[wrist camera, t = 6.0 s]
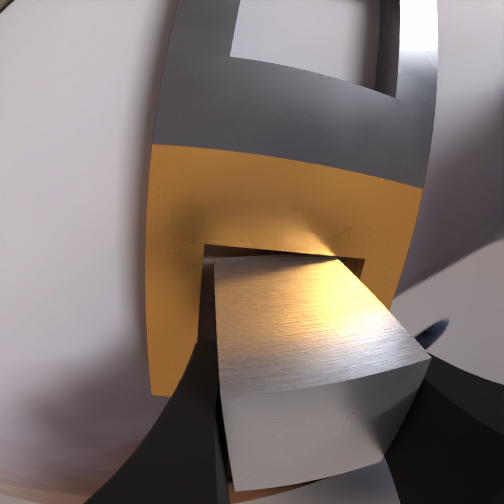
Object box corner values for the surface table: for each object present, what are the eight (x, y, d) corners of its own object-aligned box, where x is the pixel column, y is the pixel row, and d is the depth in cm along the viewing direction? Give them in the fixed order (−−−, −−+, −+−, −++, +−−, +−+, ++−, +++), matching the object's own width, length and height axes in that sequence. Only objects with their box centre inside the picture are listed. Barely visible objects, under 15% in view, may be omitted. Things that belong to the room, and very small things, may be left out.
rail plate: (415, -12, 8) (433, -22, 6) (342, 374, 14) (353, 394, 12) (209, -70, 6) (209, -90, 5) (155, 371, 12) (151, 394, 11)
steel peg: (329, 250, 10) (431, 357, 5) (320, 342, 12) (380, 461, 6) (213, 258, 10) (220, 397, 4) (221, 353, 11) (234, 491, 6)
